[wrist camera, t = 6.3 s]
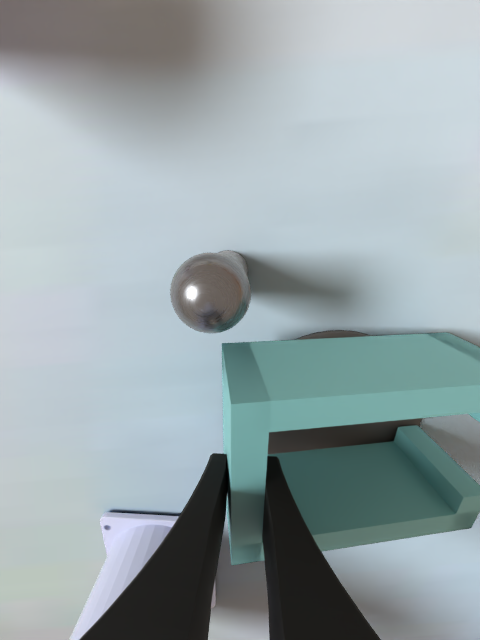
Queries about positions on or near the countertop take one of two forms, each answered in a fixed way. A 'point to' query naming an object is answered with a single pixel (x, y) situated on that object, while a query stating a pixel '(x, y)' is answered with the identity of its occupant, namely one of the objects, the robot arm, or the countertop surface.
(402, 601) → the countertop surface
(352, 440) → the coaster
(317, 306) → the countertop surface
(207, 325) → the cylinder
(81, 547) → the countertop surface
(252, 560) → the c link
